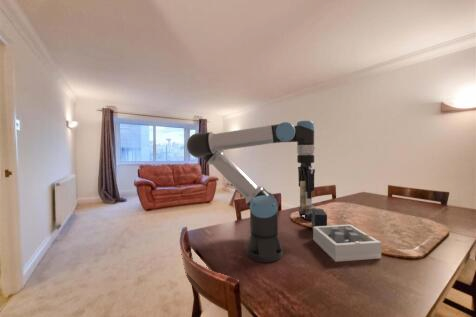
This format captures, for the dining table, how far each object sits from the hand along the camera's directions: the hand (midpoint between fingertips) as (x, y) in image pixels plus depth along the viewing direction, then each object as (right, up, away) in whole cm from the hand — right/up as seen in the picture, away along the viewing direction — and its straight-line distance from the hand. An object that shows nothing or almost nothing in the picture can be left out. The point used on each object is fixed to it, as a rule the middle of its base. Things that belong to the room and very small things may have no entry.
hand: (306, 203), depth 95 cm
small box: (+11, -18, +13) cm, 25 cm away
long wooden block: (0, -4, 0) cm, 4 cm away
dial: (+15, -16, -7) cm, 23 cm away
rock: (+13, -17, +31) cm, 38 cm away
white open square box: (+14, -18, -6) cm, 24 cm away
